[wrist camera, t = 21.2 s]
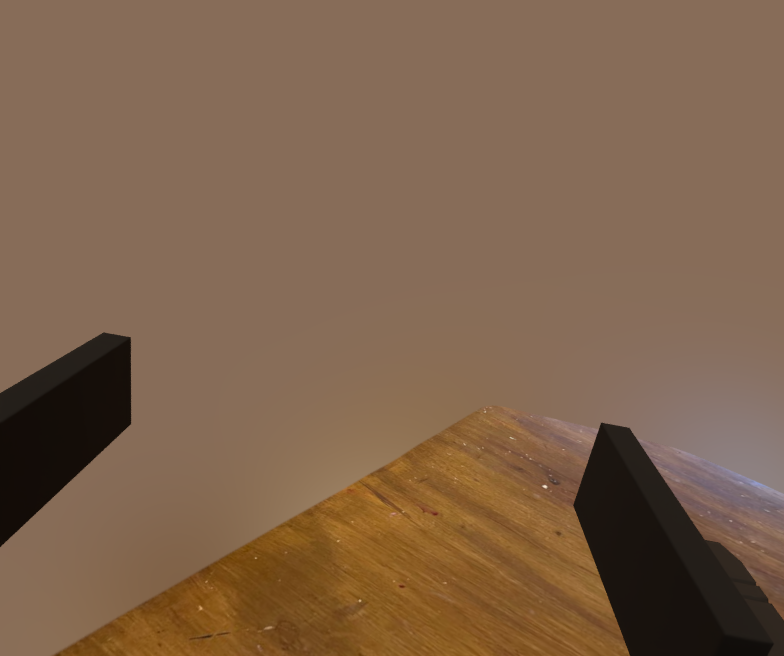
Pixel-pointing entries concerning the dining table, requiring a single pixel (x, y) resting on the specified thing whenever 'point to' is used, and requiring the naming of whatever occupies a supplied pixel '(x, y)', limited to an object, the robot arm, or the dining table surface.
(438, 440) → the dining table surface
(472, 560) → the dining table surface
